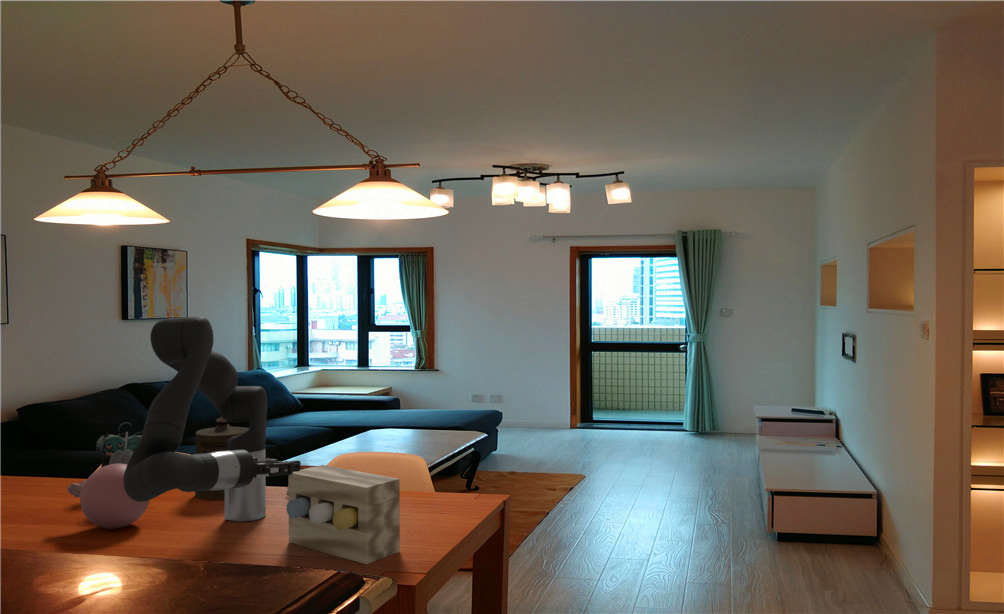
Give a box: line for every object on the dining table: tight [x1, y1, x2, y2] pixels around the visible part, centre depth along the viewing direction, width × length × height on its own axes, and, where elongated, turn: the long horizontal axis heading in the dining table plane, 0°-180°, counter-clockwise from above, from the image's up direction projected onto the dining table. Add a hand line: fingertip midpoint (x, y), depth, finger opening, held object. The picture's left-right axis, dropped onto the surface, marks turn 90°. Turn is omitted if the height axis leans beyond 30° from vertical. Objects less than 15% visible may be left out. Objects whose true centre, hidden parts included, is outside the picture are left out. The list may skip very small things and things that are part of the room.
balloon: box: [66, 464, 151, 530], centre depth 192 cm, size 15×20×15 cm
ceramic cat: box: [95, 421, 143, 468], centre depth 230 cm, size 20×6×20 cm, turn 147°
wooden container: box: [194, 416, 249, 501], centre depth 225 cm, size 15×15×22 cm
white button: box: [309, 501, 334, 524], centre depth 171 cm, size 5×4×4 cm
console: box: [288, 464, 401, 565], centre depth 176 cm, size 10×25×16 cm, turn 54°
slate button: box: [286, 496, 311, 519], centre depth 176 cm, size 5×4×4 cm
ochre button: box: [333, 506, 358, 530], centre depth 167 cm, size 5×4×4 cm
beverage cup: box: [109, 431, 133, 465], centre depth 210 cm, size 7×7×20 cm
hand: (284, 464), depth 170 cm, fingers open, 8 cm apart
